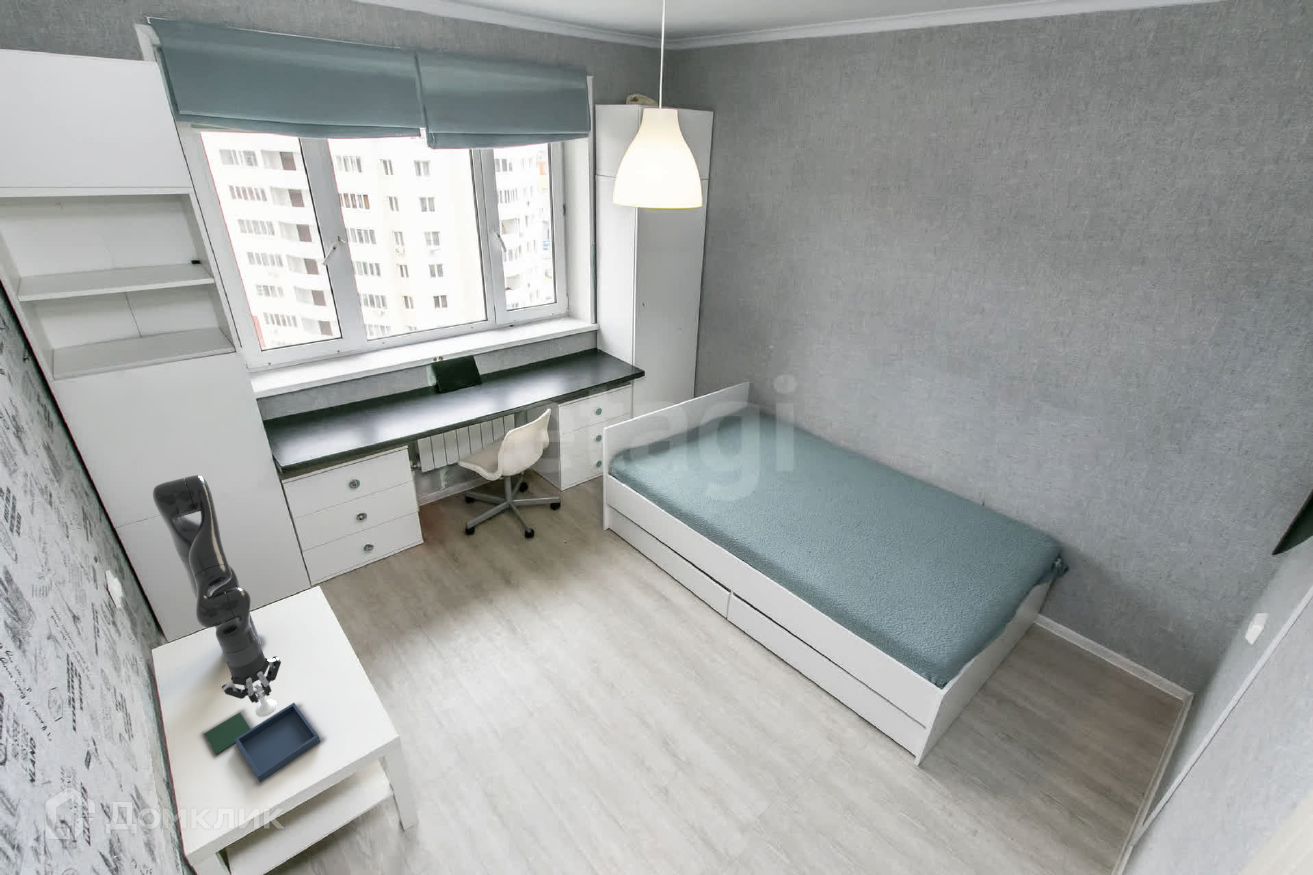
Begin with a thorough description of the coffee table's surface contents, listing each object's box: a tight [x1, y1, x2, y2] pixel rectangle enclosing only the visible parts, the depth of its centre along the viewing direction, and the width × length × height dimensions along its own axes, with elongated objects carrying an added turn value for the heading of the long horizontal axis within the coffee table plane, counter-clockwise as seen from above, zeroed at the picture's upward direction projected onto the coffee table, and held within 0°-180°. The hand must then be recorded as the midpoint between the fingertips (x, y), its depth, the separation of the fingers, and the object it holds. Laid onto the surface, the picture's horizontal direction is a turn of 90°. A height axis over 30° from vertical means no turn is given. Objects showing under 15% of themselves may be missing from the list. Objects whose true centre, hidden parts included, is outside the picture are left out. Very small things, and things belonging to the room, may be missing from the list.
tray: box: [234, 702, 321, 783], centre depth 165 cm, size 16×16×2 cm
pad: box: [203, 712, 251, 756], centre depth 167 cm, size 9×9×1 cm
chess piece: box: [253, 683, 278, 718], centre depth 157 cm, size 5×5×10 cm
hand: (261, 696), depth 157 cm, fingers closed on chess piece
